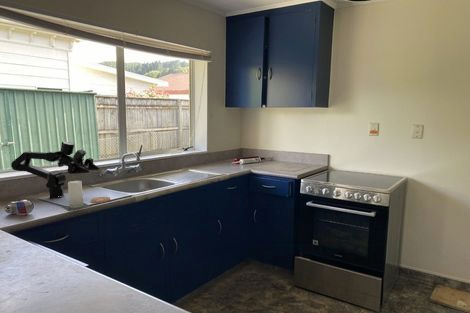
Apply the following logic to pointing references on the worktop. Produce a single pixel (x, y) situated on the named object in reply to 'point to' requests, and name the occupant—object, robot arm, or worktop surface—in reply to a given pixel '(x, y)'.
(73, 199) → the tumbler
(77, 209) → the rubber mat
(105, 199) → the saucer
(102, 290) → the worktop surface
